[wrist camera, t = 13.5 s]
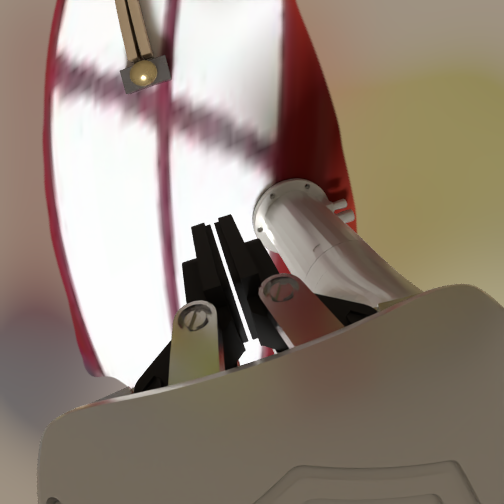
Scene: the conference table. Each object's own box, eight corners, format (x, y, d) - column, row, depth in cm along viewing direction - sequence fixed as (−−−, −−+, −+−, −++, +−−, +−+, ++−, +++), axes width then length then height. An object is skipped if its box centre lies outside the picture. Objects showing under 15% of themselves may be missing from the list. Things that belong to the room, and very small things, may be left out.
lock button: (154, 58, 23) (153, 56, 22) (160, 81, 25) (159, 80, 24) (129, 67, 23) (126, 65, 22) (135, 89, 25) (133, 89, 23)
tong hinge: (165, 58, 27) (164, 54, 24) (171, 79, 29) (171, 78, 25) (125, 72, 27) (119, 70, 23) (131, 93, 28) (125, 94, 25)
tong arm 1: (129, -41, 17) (124, -56, 13) (153, 57, 26) (150, 52, 22) (121, -38, 16) (116, -53, 12) (145, 60, 26) (141, 55, 22)
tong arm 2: (121, -38, 16) (115, -53, 12) (142, 61, 26) (137, 57, 22) (113, -35, 16) (106, -50, 12) (134, 64, 26) (128, 60, 22)
